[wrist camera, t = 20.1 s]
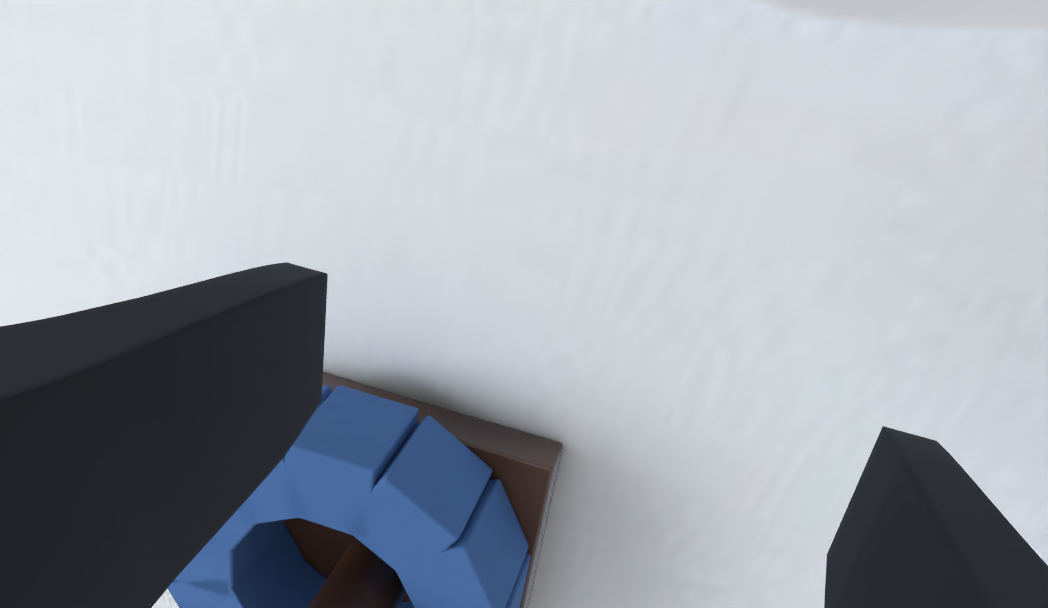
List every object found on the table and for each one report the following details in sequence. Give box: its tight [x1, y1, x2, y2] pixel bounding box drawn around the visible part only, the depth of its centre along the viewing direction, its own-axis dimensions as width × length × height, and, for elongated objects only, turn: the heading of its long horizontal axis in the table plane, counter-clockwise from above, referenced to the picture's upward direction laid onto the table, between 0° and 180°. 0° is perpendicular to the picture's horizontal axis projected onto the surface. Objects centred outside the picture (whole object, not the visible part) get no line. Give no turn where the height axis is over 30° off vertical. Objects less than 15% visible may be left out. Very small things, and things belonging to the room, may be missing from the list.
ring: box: [168, 385, 530, 608], centre depth 23 cm, size 10×10×3 cm
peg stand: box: [284, 373, 563, 608], centre depth 23 cm, size 8×8×6 cm
